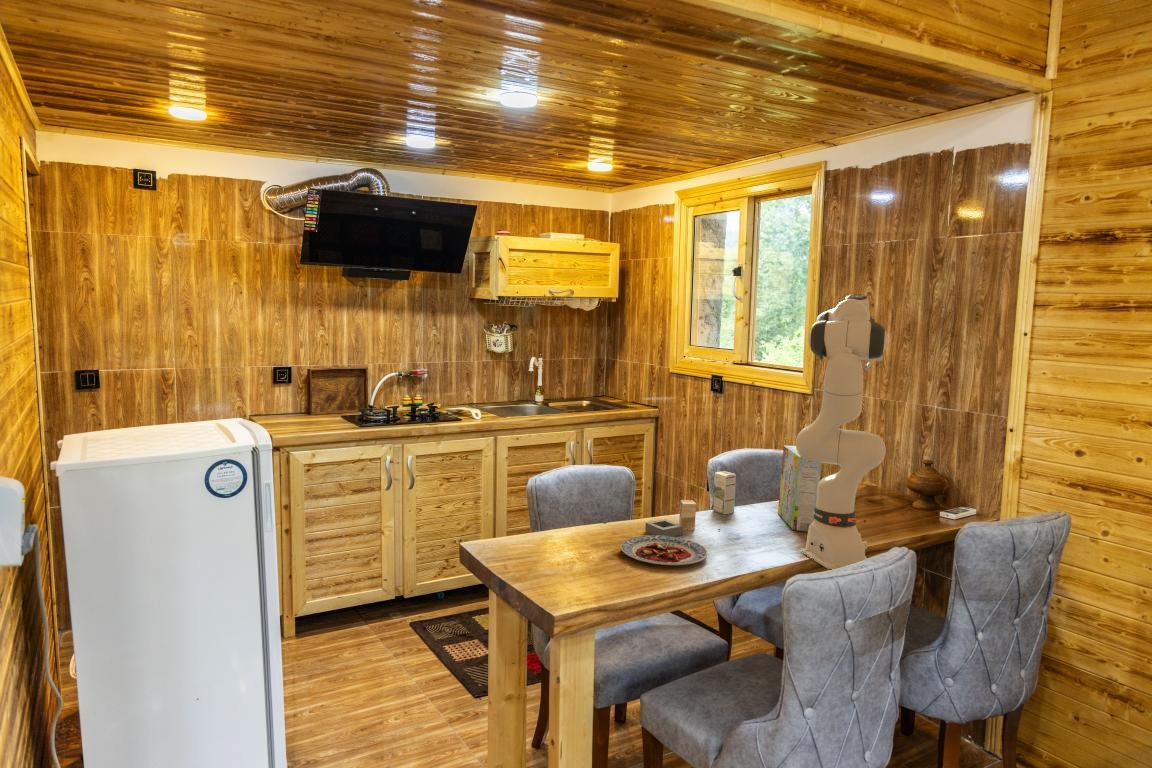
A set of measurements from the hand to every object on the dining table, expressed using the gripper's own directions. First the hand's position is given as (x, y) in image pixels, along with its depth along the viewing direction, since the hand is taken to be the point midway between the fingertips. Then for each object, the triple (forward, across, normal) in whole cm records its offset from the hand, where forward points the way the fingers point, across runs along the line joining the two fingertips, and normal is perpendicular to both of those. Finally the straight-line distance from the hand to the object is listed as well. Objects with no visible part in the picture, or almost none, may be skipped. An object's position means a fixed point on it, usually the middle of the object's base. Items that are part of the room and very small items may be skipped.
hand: (852, 368), depth 274 cm
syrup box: (+35, -40, -48) cm, 72 cm away
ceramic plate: (+9, -47, -98) cm, 109 cm away
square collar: (+18, -53, -79) cm, 97 cm away
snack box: (+35, -14, -49) cm, 62 cm away
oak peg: (+23, -48, -71) cm, 88 cm away
